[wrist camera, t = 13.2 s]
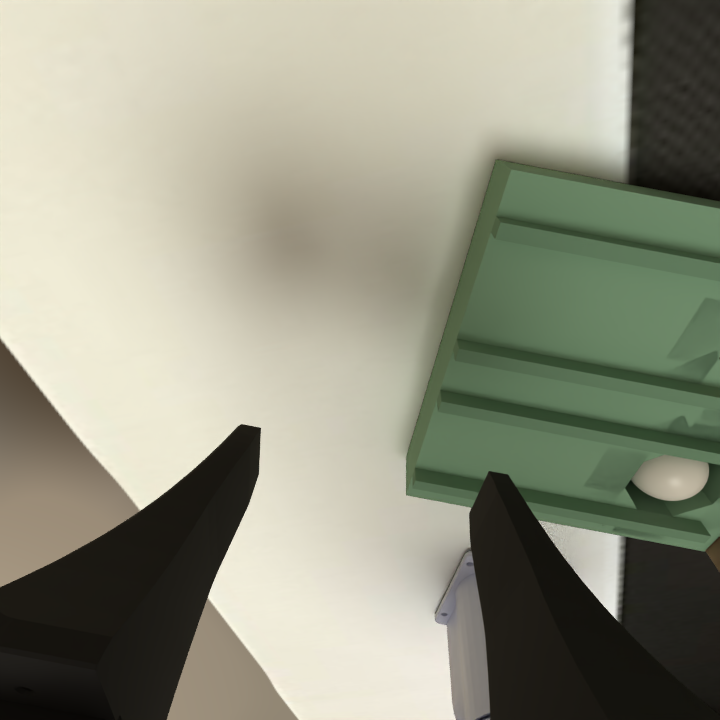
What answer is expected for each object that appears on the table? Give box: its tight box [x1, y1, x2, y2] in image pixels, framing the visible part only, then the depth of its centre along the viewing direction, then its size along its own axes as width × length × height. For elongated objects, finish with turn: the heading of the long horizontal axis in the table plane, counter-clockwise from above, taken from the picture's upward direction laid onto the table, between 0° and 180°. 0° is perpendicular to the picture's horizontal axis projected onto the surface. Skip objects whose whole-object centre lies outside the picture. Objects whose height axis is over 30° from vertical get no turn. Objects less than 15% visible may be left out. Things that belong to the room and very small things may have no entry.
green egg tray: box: [406, 160, 720, 551], centre depth 20 cm, size 17×17×4 cm
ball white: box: [631, 455, 709, 501], centre depth 22 cm, size 4×4×4 cm
